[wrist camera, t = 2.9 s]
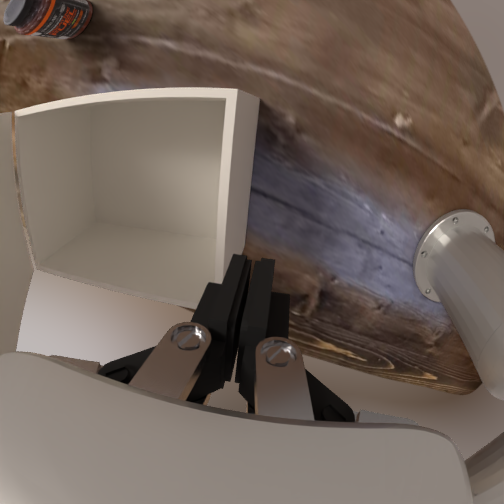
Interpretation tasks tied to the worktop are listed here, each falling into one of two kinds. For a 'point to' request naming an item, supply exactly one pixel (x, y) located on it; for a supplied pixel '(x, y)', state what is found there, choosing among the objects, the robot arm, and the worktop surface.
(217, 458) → the robot arm
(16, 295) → the lid flap
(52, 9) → the supplement bottle
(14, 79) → the worktop surface
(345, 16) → the worktop surface
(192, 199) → the carton
